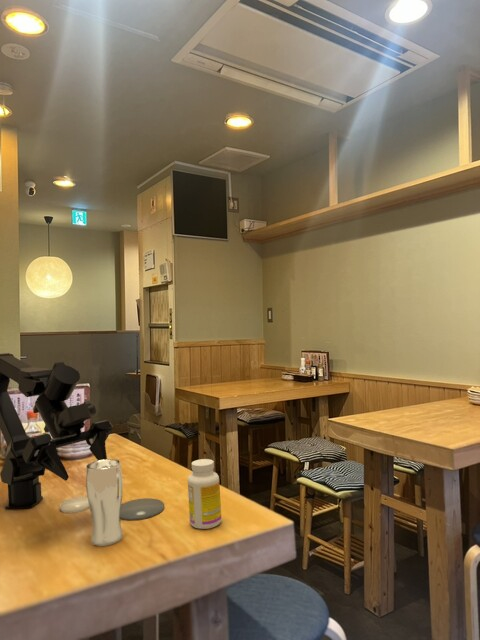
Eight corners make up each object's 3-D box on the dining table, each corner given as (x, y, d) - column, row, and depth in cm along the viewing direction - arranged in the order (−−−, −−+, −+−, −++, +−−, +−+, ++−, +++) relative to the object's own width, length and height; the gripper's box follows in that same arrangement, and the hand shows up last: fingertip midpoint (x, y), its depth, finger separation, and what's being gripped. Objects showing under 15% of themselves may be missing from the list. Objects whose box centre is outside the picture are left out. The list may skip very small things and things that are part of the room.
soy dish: (55, 515, 108) (55, 509, 108) (67, 503, 115) (67, 497, 115) (85, 514, 108) (85, 508, 108) (96, 502, 115) (95, 496, 115)
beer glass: (115, 548, 90) (111, 469, 90) (82, 546, 92) (78, 469, 91) (131, 531, 97) (127, 458, 97) (99, 530, 98) (96, 458, 98)
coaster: (108, 521, 103) (108, 518, 103) (123, 501, 114) (123, 499, 114) (158, 519, 102) (158, 516, 102) (168, 500, 113) (168, 497, 113)
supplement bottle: (227, 519, 101) (224, 459, 101) (211, 532, 95) (208, 468, 95) (200, 514, 104) (197, 456, 104) (183, 527, 98) (180, 465, 98)
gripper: (26, 397, 94) (59, 460, 87) (106, 384, 109) (139, 438, 102) (9, 432, 99) (39, 495, 92) (88, 416, 114) (118, 469, 107)
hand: (87, 472), depth 98 cm, fingers open, 9 cm apart
